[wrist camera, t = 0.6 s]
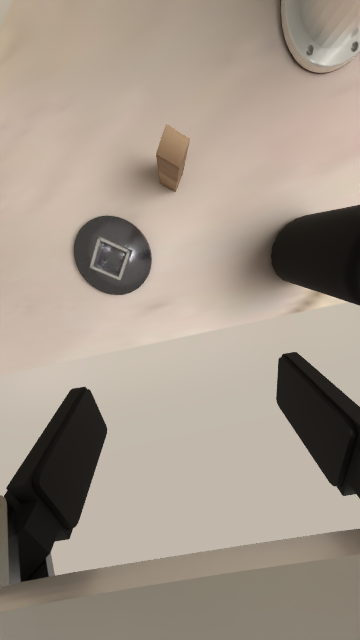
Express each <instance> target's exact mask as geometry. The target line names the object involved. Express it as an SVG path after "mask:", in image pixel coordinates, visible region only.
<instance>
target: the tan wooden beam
mask: <svg viewBox="0 0 360 640" xmlns="http://www.w3.org/2000/svg"><path fill="white" fill-rule="evenodd" d="M189 141H190V139H189V138H188V137H186V136H184V135H183V134H181V133H180V132H178V131H176V130H175V129H173V128H172V127H170V126H169V125H167V124H166V126H165V129H164V132H163V135H162V138H161V141H160V144H159V147H158V150H157V153H156V157H157V164H158V171H159V179H160V183H161V184H162V185H164V186H166V187H168V188H170V189H171V190H173V191H175V192H176V189H177V187H178V184H179V182H180V179H181V176H182V174H183V169H184V165H185V160H186V155H187V150H188V146H189Z"/></svg>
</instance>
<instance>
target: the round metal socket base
mask: <svg viewBox="0 0 360 640" xmlns="http://www.w3.org/2000/svg"><path fill="white" fill-rule="evenodd" d="M74 256H75V261H76V264H77V267H78V269H79V271H80V273H81V274H82V276H83V277H84V278H85V280H86V281H87V282H88V283H89V284H91V285H92V286H93V287H94V288H96V289H98V290H100V291H102V292H104V293H108V294H113V295H122V294H127V293H130V292H132V291H134V290H136V289H137V288H139V287H140V286H141V285H142V284H143V283H144V281H145V280H146V278H147V277H148V275H149V272H150V269H151V263H152V257H151V250H150V247H149V244H148V242H147V240H146V238H145V237H144V235H143V234H142V232H141V231H140V230H139V229H138V228H137V227H136V226H134V225H133V224H132V223H130V222H128V221H126V220H124V219H122V218H118V217H114V216H101V217H97V218H94V219H92V220H90V221H89V222H87V223H86V224H85V225H84V226H83V227H82V228H81V230H80V231H79V233H78V235H77V237H76V240H75V245H74Z"/></svg>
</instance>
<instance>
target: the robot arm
mask: <svg viewBox="0 0 360 640" xmlns="http://www.w3.org/2000/svg"><path fill="white" fill-rule="evenodd" d="M281 18H282V28H283V32H284V37H285V40H286V43H287V45H288V48H289V50H290V52H291V54H292V55H293V57H294V58H295V60H296V61H297V62H298V63H299V64H300V65H301V66H302V67H304V68H306V69H308V70H310V71H312V72H317V73H325V72H331V71H334V70H336V69H339V68H340V67H342V66H344V65H345V64H347V63H348V62H349V61H351V60H352V59H353V58H354V57H355V56H356V55H357V54H358V53H359V52H360V0H281ZM276 399H277V404H278V406H279V407H280V409H281V410H282V412H283V413H284V415H285V416H286V418H287V419H288V421H289V422H290V424H291V425H292V427H293V428H294V430H295V431H296V433H297V434H298V436H299V437H300V439H301V440H302V442H303V443H304V445H305V446H306V448H307V449H308V451H309V452H310V454H311V455H312V457H313V458H314V460H315V461H316V463H317V464H318V466H319V467H320V469H321V470H322V472H323V473H324V475H325V476H326V478H327V479H328V481H329V482H330V483H331V484H332V485H333V486H337V488H338V489H339V490H340V492H341V494H342V495H343V496H346V495H352V494H357V495H358V497H359V498H360V407H359V406H358V405H357V404H355V403H354V402H353V401H352V400H351V399H350V398H349V397H348V396H346V395H345V394H344V393H343V392H342V391H341V390H339V389H338V388H337V387H336V386H335V385H334V384H333V383H331V382H330V381H329V380H328V379H327V378H326V377H325V376H323V375H322V374H321V373H320V372H319V371H318V370H316V369H315V368H314V367H313V366H312V365H311V364H310V363H308V362H307V361H306V360H305V359H304V358H303V357H301V356H300V355H299V354H298V353H296V352H292V353H286V354H283V355H282V357H281V358H279V363H278V380H277V397H276ZM106 434H107V427H106V424H105V422H104V420H103V418H102V415H101V413H100V411H99V409H98V407H97V404H96V403H95V400H94V398H93V395H92V393H91V391H90V390H89V389H88V390H87V388H86V387H81V388H74V389H72V390H71V391H70V392H69V393H68V395H67V397H66V398H65V399H64V401H63V402H62V404H61V406H60V407H59V409H58V410H57V412H56V413H55V415H54V416H53V418H52V419H51V421H50V422H49V424H48V425H47V427H46V428H45V430H44V431H43V433H42V434H41V436H40V437H39V439H38V440H37V442H36V443H35V445H34V447H33V448H32V450H31V451H30V453H29V454H28V456H27V457H26V459H25V460H24V462H23V464H22V465H21V466H20V468H19V469H18V471H17V472H16V474H15V475H14V477H13V479H12V480H11V482H10V484H9V485H8V486H7V490H8V491H7V492H6V494H5V495H4V497H3V496H0V640H360V529H354V530H346V531H338V532H331V533H323V534H317V535H310V536H303V537H297V538H290V539H283V540H277V541H271V542H263V543H256V544H250V545H243V546H237V547H231V548H224V549H218V550H212V551H205V552H198V553H192V554H185V555H179V556H173V557H167V558H160V559H154V560H148V561H141V562H136V563H129V564H124V565H116V566H111V567H104V568H98V569H92V570H86V571H79V572H73V573H68V574H62V575H57V576H55V574H54V569H53V563H52V558H51V549H52V547H53V544H54V542H55V541H60V540H66V539H69V538H70V535H71V533H72V530H73V528H74V527H75V526H76V525H77V524H78V521H79V519H80V516H81V512H82V509H83V506H84V503H85V500H86V497H87V493H88V491H89V487H90V484H91V481H92V478H93V475H94V472H95V469H96V466H97V462H98V459H99V456H100V453H101V450H102V447H103V444H104V440H105V438H106Z"/></svg>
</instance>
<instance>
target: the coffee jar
mask: <svg viewBox="0 0 360 640" xmlns="http://www.w3.org/2000/svg"><path fill="white" fill-rule="evenodd" d="M271 258H272V266H273V268H274V270H275V272H276V274H277V275H278V276H279V277H280V278H281V279H283V280H285V281H288V282H290V283H293V284H296V285H299V286H302V287H305V288H308V289H311V290H314V291H317V292H321V293H324V294H327V295H330V296H333V297H336V298H339V299H342V300H345V301H348V302H351V303H354V304H357V305H360V205H357V206H352V207H347V208H341V209H336V210H331V211H326V212H321V213H316V214H310V215H306V216H303V217H300V218H297V219H295V220H294V221H292V222H291V223H289V224H288V225H287V226H286V227H285V228H284V229H283V230H282V231H281V233H280V234H279V235H278V236H277V239H276V241H275V243H274V245H273V249H272V255H271Z"/></svg>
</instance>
